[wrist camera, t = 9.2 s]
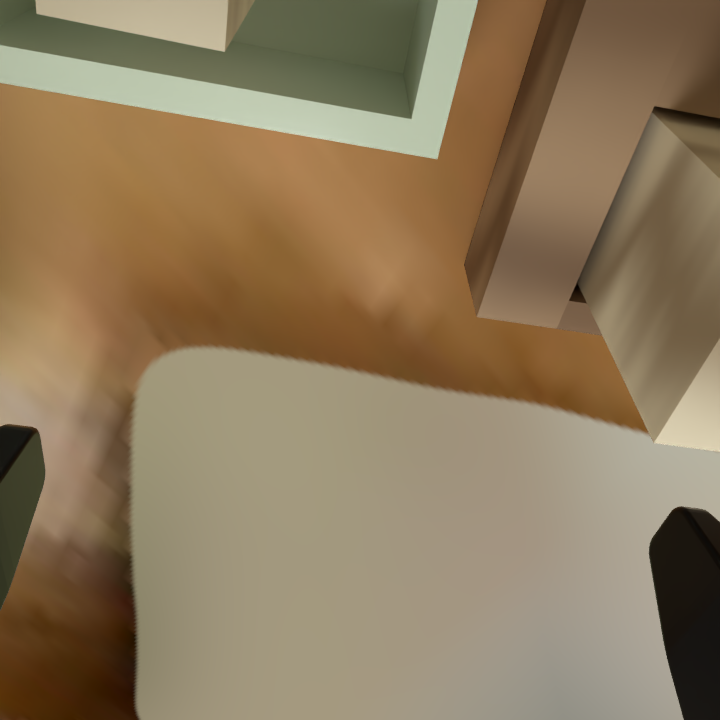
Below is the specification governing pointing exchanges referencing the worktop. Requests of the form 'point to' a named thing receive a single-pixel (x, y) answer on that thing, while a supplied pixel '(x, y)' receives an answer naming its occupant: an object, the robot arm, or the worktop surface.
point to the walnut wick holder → (582, 145)
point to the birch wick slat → (158, 18)
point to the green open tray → (267, 68)
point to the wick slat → (665, 278)
